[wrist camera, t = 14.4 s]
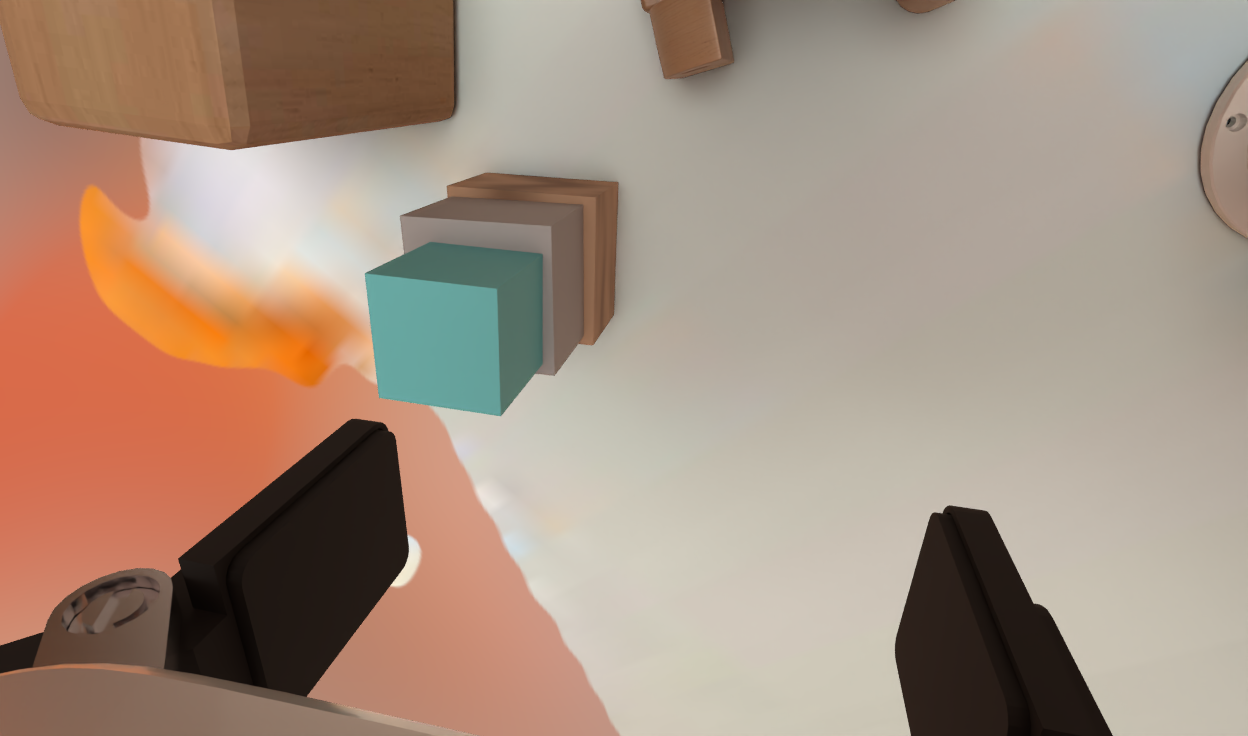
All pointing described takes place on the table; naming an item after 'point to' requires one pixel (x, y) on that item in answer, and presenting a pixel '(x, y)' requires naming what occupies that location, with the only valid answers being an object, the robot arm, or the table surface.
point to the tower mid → (525, 231)
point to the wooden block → (232, 66)
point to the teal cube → (457, 326)
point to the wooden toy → (709, 33)
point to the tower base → (596, 229)
